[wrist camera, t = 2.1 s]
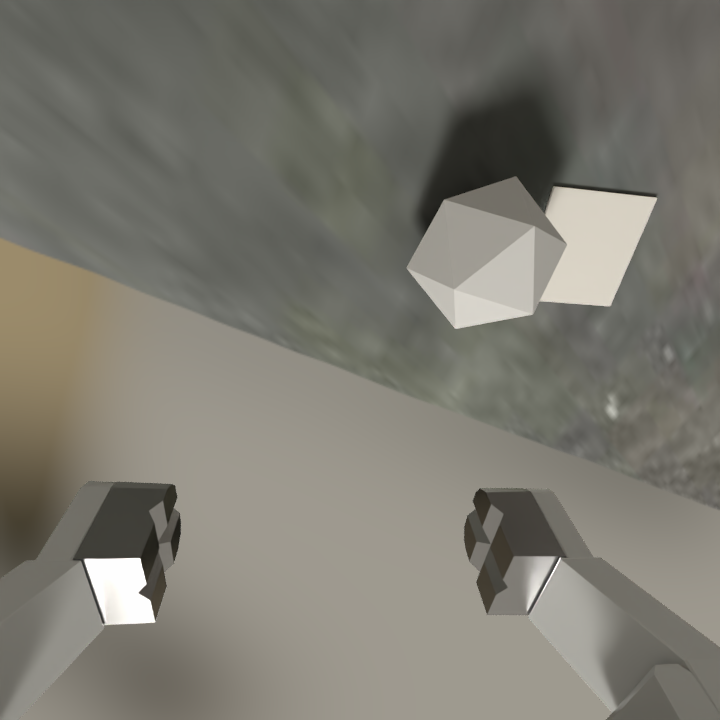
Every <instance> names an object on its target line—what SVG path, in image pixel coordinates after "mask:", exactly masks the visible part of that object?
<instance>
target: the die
mask: <svg viewBox="0 0 720 720" xmlns="http://www.w3.org/2000/svg"><path fill="white" fill-rule="evenodd" d="M566 246H567V243H566V242H565V241H564V239H563V238H562V237H561V235H560V234H559V233H558V231H557V230H556V229H555V227H554V226H553V225H552V223H551V222H550V221H549V219H548V218H547V217H546V215H545V214H544V213H543V211H542V210H541V209H540V207H539V206H538V205H537V203H536V202H535V201H534V199H533V198H532V197H531V195H530V194H529V193H528V191H527V190H526V189H525V187H524V186H523V185H522V183H521V182H520V181H519V179H518V178H517V177H516V176H515V177H512V178H509V179H506V180H503V181H500V182H497V183H494V184H491V185H488V186H485V187H481V188H478V189H475V190H472V191H469V192H466V193H463V194H460V195H457V196H454V197H451V198H448V199H445V200H444V201H443V203H442V204H441V206H440V208H439V210H438V212H437V213H436V215H435V217H434V219H433V221H432V223H431V224H430V226H429V228H428V230H427V232H426V233H425V235H424V237H423V239H422V241H421V242H420V244H419V246H418V248H417V250H416V252H415V253H414V255H413V257H412V259H411V261H410V262H409V264H408V266H407V269H408V270H409V272H410V273H411V274H412V275H413V277H414V278H415V279H416V280H417V282H418V283H419V284H420V285H421V287H422V288H423V289H424V290H425V292H426V293H427V294H428V295H429V297H430V298H431V299H432V300H433V302H434V303H435V304H436V305H437V307H438V308H439V309H440V310H441V312H442V313H443V314H444V315H445V317H446V318H447V319H448V320H449V322H450V323H451V324H452V325H453V327H454V328H455V329H457V328H463V327H468V326H473V325H479V324H484V323H489V322H495V321H500V320H505V319H511V318H516V317H521V316H527V315H532V314H533V313H534V311H535V309H536V307H537V305H538V303H539V301H540V299H541V297H542V295H543V293H544V291H545V289H546V287H547V285H548V283H549V281H550V279H551V277H552V275H553V273H554V271H555V269H556V267H557V265H558V263H559V260H560V258H561V256H562V254H563V252H564V250H565V248H566Z"/></svg>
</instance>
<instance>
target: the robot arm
mask: <svg viewBox="0 0 720 720" xmlns="http://www.w3.org/2000/svg"><path fill="white" fill-rule="evenodd" d="M176 500H177V493H176V487H175V485H173V484H157V483H133V482H97V481H96V482H95V481H89V482H87V483H86V484H85V485H84V486H83V487H81V488H80V490H79V491H78V493H77V495H76V496H75V498H74V499H73V501H72V503H71V504H70V506H69V508H68V509H67V511H66V512H65V514H64V516H63V517H62V519H61V520H60V522H59V523H58V525H57V527H56V528H55V530H54V532H53V533H52V535H51V536H50V538H49V540H48V541H47V543H46V544H45V546H44V548H43V549H42V551H41V552H40V554H39V556H38V557H37V559H36V560H35V561H25V562H24V563H22V564H20V565H19V566H18V567H16V568H15V569H13V570H12V571H10V572H9V573H7V574H6V575H5V576H3V577H2V578H0V720H19V719H20V718H21V717H22V716H23V715H24V714H25V712H26V711H27V710H28V709H29V708H30V707H31V706H32V705H33V704H34V703H35V702H36V701H37V700H38V699H39V697H40V696H41V695H42V694H43V693H44V692H45V691H46V690H47V689H48V688H49V687H50V686H51V684H52V683H53V682H54V681H55V680H56V679H57V678H58V677H59V676H60V675H61V674H62V673H63V672H64V671H65V670H66V668H67V667H68V666H69V665H70V664H71V663H72V662H73V661H74V660H75V659H76V658H77V657H78V655H80V653H81V652H82V651H83V650H84V649H85V648H86V647H87V646H88V645H89V644H90V643H91V642H92V641H93V639H94V638H95V637H96V636H97V635H98V634H99V633H100V632H101V631H102V630H103V629H104V626H103V625H113V624H132V623H152V622H155V621H156V618H157V615H158V612H159V609H160V606H161V602H162V599H163V596H164V593H165V590H166V587H167V585H166V579H165V573H164V572H165V571H166V570H167V569H168V568H169V567H171V566H172V565H173V564H174V561H175V558H176V555H177V551H178V547H179V541H180V535H181V519H180V513H179V512H178V511H176V510H175V509H174V506H175V503H176ZM473 503H474V506H475V510H474V511H473V512H471V513H470V514H469V515H468V516H467V519H466V522H465V526H464V542H465V548H466V552H467V556H468V559H469V562H470V563H472V565H474V566H475V567H476V568H477V569H478V570H479V571H480V573H479V576H478V579H477V582H476V583H477V586H478V589H479V592H480V595H481V598H482V601H483V604H484V607H485V610H486V613H487V615H529V616H528V618H529V619H530V620H531V622H532V623H533V624H534V625H535V626H536V627H537V628H538V630H539V631H541V633H542V634H543V635H544V636H545V637H546V639H547V640H548V641H549V642H550V643H551V644H552V645H553V647H554V648H555V649H556V650H557V651H558V652H559V653H560V654H561V656H562V657H563V658H564V659H565V660H566V661H567V662H568V663H569V665H570V666H571V667H572V668H573V669H574V670H575V671H576V672H577V674H578V675H579V676H580V677H581V678H582V679H583V680H584V682H585V683H586V684H587V685H588V686H589V687H590V688H591V689H592V691H593V692H594V693H595V694H596V695H597V696H598V697H599V699H600V700H601V701H602V702H603V703H604V704H605V705H606V707H607V708H608V709H609V710H610V711H611V712H612V714H611V715H610V716H609V717H608V718H607V719H606V720H720V647H718V646H717V645H716V644H715V643H713V642H712V641H710V640H709V639H708V638H707V637H705V636H704V635H703V634H702V633H700V632H699V631H698V630H696V629H695V628H694V627H692V626H691V625H690V624H688V623H687V622H686V621H684V620H683V619H681V618H680V617H679V616H678V615H676V614H675V613H674V612H672V611H671V610H670V609H668V608H667V607H665V606H664V605H663V604H662V603H660V602H659V601H658V600H656V599H655V598H653V597H652V596H651V595H650V594H648V593H647V592H646V591H644V590H643V589H642V588H640V587H639V586H638V585H636V584H635V583H634V582H632V581H631V580H630V579H628V578H627V577H626V576H624V575H623V574H622V573H620V572H619V571H618V570H616V569H615V568H614V567H612V566H611V565H610V564H608V563H607V562H606V561H605V560H603V559H602V558H594V557H593V556H592V554H591V552H590V551H589V549H588V548H587V546H586V544H585V543H584V541H583V539H582V538H581V536H580V534H579V533H578V531H577V529H576V528H575V526H574V524H573V523H572V521H571V520H570V518H569V516H568V515H567V513H566V511H565V510H564V508H563V506H562V505H561V503H560V502H559V500H558V498H557V497H556V495H555V494H554V493H553V492H552V491H551V490H550V489H522V488H521V489H520V488H480V489H479V490H478V491H477V492H476V493H475V496H474V498H473Z"/></svg>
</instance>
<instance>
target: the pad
mask: <svg viewBox="0 0 720 720" xmlns="http://www.w3.org/2000/svg"><path fill="white" fill-rule="evenodd" d="M656 200H657V198H656V197H647V196H638V195H629V194H620V193H611V192H602V191H593V190H584V189H575V188H566V187H557V186H553V188H552V191H551V194H550V197H549V200H548V203H547V207H546V210H545V213H544V214H545V215H546V217H547V218H548V219H549V221H550V222H551V223H552V225H553V226H554V227H555V229H556V230H557V231H558V233H559V234H560V235H561V237H562V238H563V239H564V241H565V242H566V243H567V246H566V248H565V250H564V252H563V254H562V256H561V258H560V260H559V263H558V265H557V267H556V269H555V271H554V273H553V275H552V277H551V279H550V281H549V283H548V285H547V287H546V289H545V291H544V293H543V295H542V297H541V299H540V301H546V302H559V303H572V304H586V305H599V306H611V303H612V301H613V299H614V296H615V294H616V292H617V289H618V287H619V285H620V283H621V280H622V278H623V276H624V273H625V271H626V269H627V267H628V264H629V262H630V260H631V257H632V255H633V253H634V251H635V248H636V246H637V244H638V241H639V239H640V237H641V235H642V232H643V230H644V228H645V225H646V223H647V221H648V219H649V216H650V214H651V212H652V209H653V207H654V205H655V203H656Z"/></svg>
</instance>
